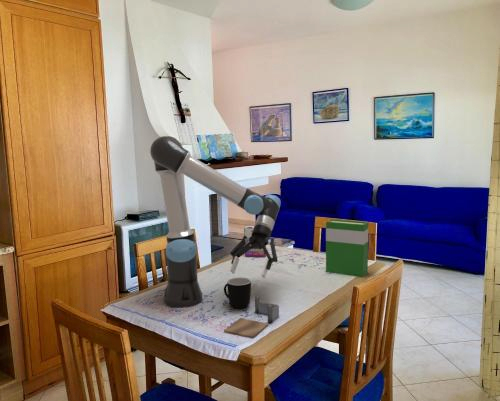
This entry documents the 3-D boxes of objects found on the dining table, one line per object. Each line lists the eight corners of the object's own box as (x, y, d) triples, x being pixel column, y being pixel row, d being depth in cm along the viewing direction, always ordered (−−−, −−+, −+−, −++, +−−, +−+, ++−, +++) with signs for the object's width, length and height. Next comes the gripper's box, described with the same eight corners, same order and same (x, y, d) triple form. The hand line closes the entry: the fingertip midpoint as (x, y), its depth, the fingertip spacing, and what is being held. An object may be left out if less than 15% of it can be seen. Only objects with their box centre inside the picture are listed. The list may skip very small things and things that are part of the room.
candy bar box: (266, 255, 240) (266, 225, 238) (265, 257, 235) (264, 227, 233) (246, 254, 242) (245, 225, 240) (244, 257, 237) (243, 226, 235)
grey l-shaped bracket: (246, 318, 157) (246, 302, 156) (256, 310, 164) (256, 295, 163) (271, 323, 152) (271, 307, 151) (280, 315, 159) (280, 299, 158)
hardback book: (325, 271, 209) (326, 221, 205) (331, 267, 215) (331, 219, 211) (363, 277, 200) (363, 224, 196) (367, 272, 206) (368, 222, 203)
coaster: (224, 331, 147) (223, 330, 147) (240, 319, 156) (240, 317, 156) (253, 338, 142) (253, 336, 141) (268, 325, 151) (268, 323, 151)
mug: (256, 305, 169) (255, 280, 167) (241, 313, 162) (240, 286, 160) (232, 299, 176) (231, 274, 175) (217, 306, 169) (216, 280, 168)
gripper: (293, 236, 180) (279, 282, 170) (239, 231, 192) (223, 274, 181) (288, 225, 175) (273, 273, 164) (233, 221, 186) (216, 265, 176)
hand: (247, 274), depth 173 cm, fingers open, 13 cm apart
